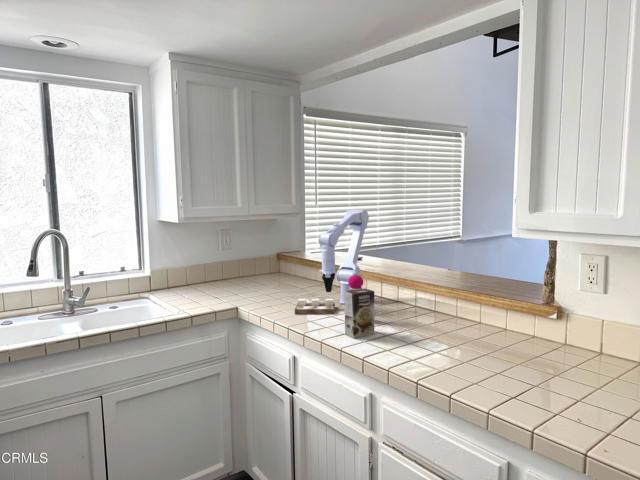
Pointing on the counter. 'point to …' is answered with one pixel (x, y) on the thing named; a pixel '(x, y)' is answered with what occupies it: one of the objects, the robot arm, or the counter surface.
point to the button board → (315, 309)
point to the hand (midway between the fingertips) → (328, 290)
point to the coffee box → (359, 313)
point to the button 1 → (301, 302)
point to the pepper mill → (355, 282)
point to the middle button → (315, 302)
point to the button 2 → (328, 302)
